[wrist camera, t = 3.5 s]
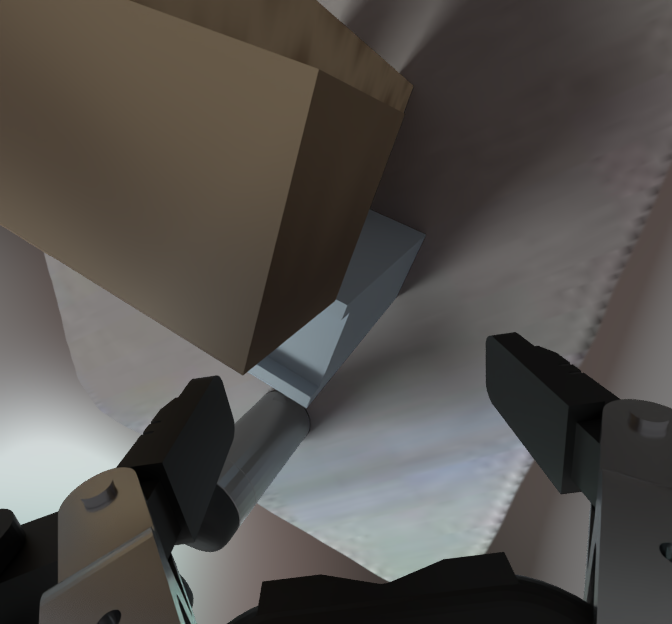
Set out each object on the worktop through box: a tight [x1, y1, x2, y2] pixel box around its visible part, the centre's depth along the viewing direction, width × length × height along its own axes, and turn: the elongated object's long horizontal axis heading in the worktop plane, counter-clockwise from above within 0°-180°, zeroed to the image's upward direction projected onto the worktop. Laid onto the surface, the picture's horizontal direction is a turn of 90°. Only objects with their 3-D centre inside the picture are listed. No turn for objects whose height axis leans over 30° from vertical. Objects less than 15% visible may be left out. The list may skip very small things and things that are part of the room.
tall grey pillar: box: [248, 209, 426, 408], centre depth 31 cm, size 8×10×22 cm
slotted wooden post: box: [0, 0, 413, 256], centre depth 23 cm, size 10×10×32 cm
